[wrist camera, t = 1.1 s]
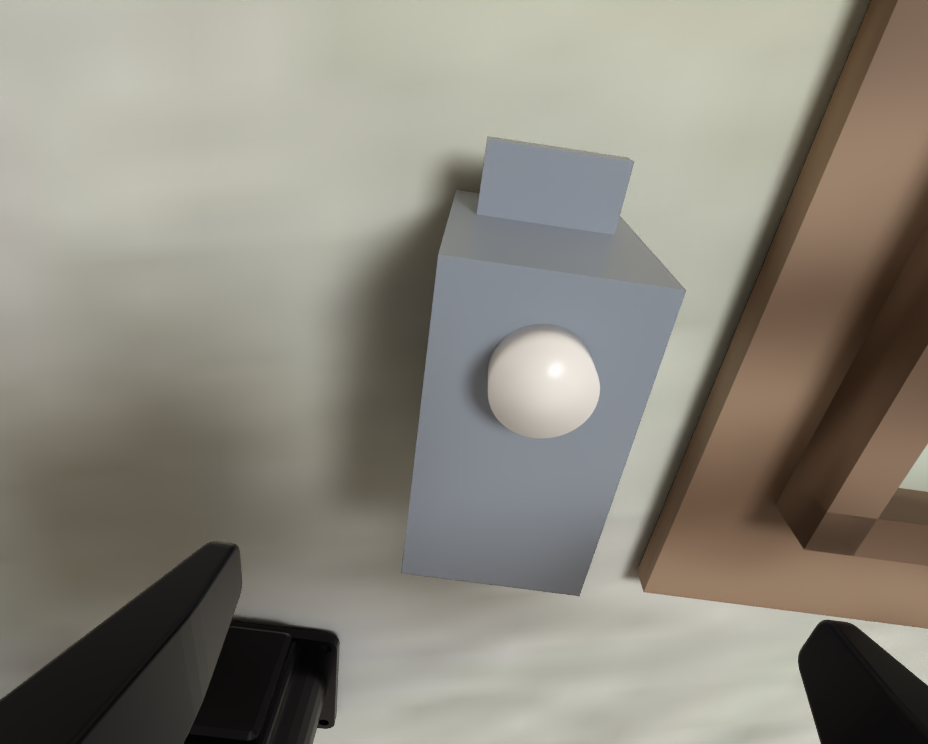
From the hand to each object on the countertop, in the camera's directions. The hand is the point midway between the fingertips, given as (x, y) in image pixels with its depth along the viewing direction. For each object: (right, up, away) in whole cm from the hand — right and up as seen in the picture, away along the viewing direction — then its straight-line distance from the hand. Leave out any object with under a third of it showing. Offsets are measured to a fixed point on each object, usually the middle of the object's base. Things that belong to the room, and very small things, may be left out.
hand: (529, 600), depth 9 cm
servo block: (0, +5, +8) cm, 10 cm away
